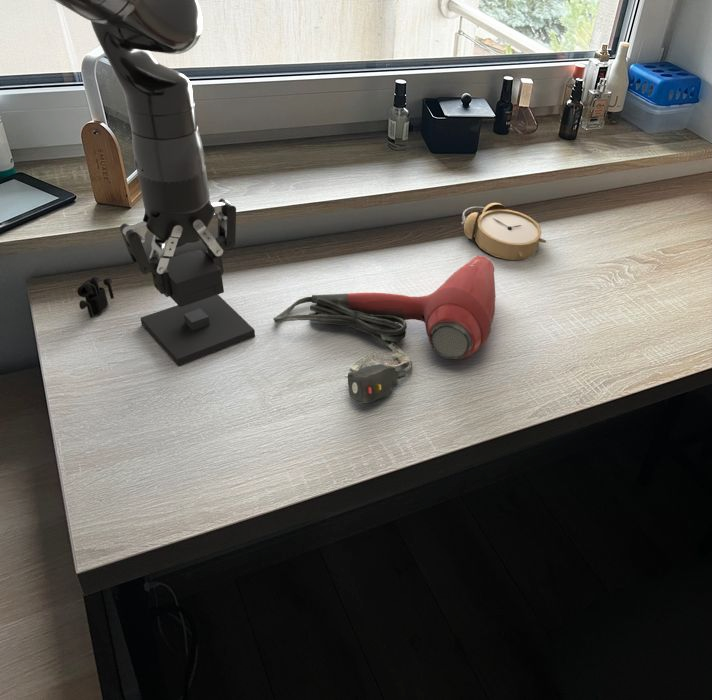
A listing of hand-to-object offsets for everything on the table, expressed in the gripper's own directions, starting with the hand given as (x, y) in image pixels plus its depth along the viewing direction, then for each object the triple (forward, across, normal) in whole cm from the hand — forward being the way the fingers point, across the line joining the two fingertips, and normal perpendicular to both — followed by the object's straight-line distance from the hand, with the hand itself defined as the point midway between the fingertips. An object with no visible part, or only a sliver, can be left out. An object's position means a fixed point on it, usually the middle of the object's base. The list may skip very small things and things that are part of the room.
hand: (191, 285), depth 94 cm
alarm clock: (+8, +53, -5) cm, 54 cm away
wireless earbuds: (+8, -9, +12) cm, 17 cm away
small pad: (+1, 0, 0) cm, 1 cm away
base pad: (+7, 0, 0) cm, 7 cm away
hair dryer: (+8, +24, -16) cm, 30 cm away
